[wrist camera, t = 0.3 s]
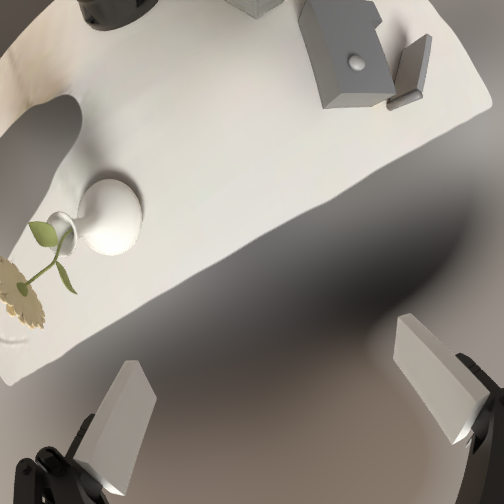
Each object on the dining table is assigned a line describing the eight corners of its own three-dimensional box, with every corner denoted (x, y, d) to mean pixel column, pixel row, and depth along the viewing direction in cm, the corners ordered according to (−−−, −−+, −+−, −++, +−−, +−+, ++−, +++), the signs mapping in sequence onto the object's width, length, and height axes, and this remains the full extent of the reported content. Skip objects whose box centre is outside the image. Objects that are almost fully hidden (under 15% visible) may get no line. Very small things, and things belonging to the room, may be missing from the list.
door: (398, 106, 33) (426, 95, 25) (389, 100, 33) (416, 87, 25) (411, 55, 30) (436, 40, 23) (403, 49, 30) (427, 33, 22)
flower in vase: (77, 191, 36) (-48, 216, 12) (136, 169, 35) (7, 167, 11) (98, 268, 39) (-6, 347, 15) (157, 254, 39) (62, 348, 15)
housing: (295, 15, 29) (305, -15, 21) (362, 18, 29) (383, -6, 20) (323, 112, 34) (344, 96, 25) (393, 110, 34) (424, 98, 25)
